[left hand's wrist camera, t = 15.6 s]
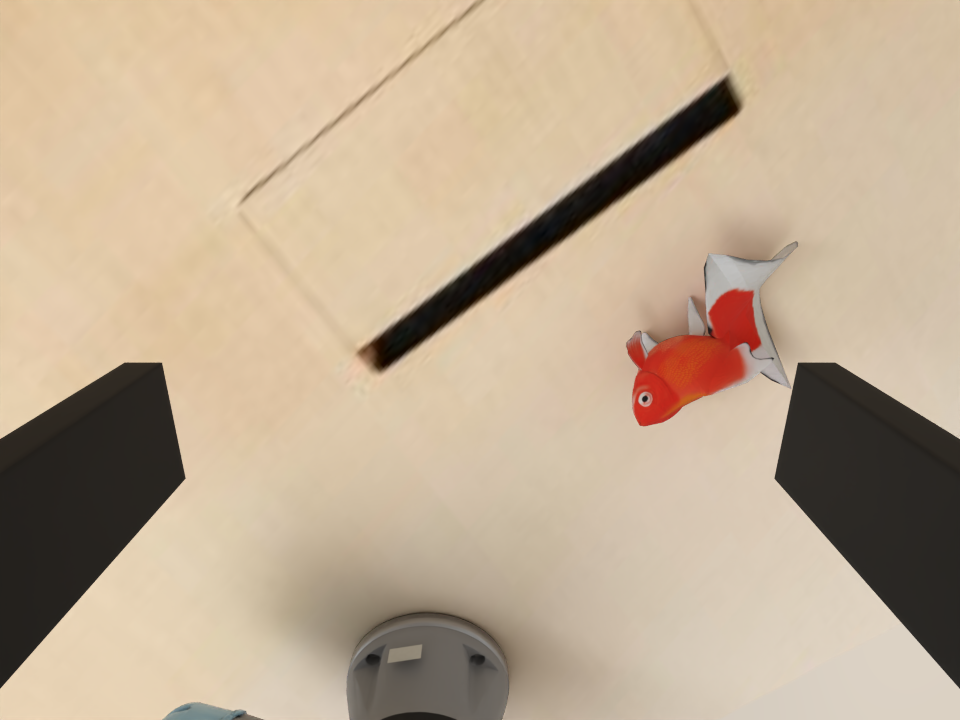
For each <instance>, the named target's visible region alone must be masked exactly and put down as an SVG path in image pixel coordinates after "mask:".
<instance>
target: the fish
mask: <svg viewBox="0 0 960 720" xmlns="http://www.w3.org/2000/svg"><path fill="white" fill-rule="evenodd" d="M797 247H798V242H797V241H795V242H794V243H792V244H790V245H788V246H786V247H785V248H784V249H782V250H781V251H780V252H779V253H778V254H777V255H776V256H775V257H774V258H773V259H771V260H768V261H762V260H746V259H741V258H737V257H733V256H728V255H719V254H708V257H707V260H706V263H705V266H704V276H705V290H706V314H707V324H708V333H709V334H710V335H711V336H704V335H705V325H704V323H703V321H702V319H701V317H700V315H699V313H698V311H697V309H696V307H695V305H694V302H693V300H692V298H691V297H689V298H688V324H689V335H681V336H676V337H673V338H670V339H667V340H665V341H663V342H661V343H657V342H656V341H654V340H653V339H652V338H651V337H650V336H649V335H648V334H647V333H643V334H642V335H641V331H637V332H635V333H634V335H633V337H632V338H631V339H630V340H629V341H628V342H627V345H626V347H627V349H628V355H629V356H630V358H631V359H632V361H633V362H634V363H635V364H636V366H637V367H638V368H639V370H638V373H637V376H636V378H635V383H634V388H633V394H632V408H633V412H634V415H635V417H636V419H637V421H638V423H639V425H640V426H648V425H652V424H657V423H662V422H664V421H666V420H668V419H670V418H671V417H673V416H674V415H675V414H676V413H677V412H678V411H679V410H680V409H681V408H682V407H683V406H685V405H687V404H689V403H691V402H693V401H695V400H697V399H699V398H701V397H702V396H707V395H712V394H715V393H718V392H721V391H724V390H727V389H730V388H733V387H736V386H739V385H741V384H744V383H747V382H748V381H750V380H751V379H752V378H754V377H755V376H756V375H758V374H759V373H762V374H763V375H765V376H766V377H767V378H769V379H770V380H772V381H774V382H777V383H779V384H781V385H784V386H786V387H788V388H790V389H791V387H790V384H789V381H788V379H787V376H786V374H785V371H784V369H783V366H782V364H781V361H780V358H779V356H778V353H777V351H776V348H775V346H774V343H773V340H772V338H771V335H770V333H769V330H768V327H767V324H766V321H765V317H764V314H763V311H762V308H761V302H760V294H759V290H760V287H761V286H762V284H763V283H764V282H765V281H766V280H767V279H768V277H769V276H770V275H771V274H772V273H773V272H774V271H775V270H776V269H777V268H778V267H779V266H780V264H781V263H782V262H783V261H784V260H785V259H786V258H787V257H788V256H789V255H790V254H791V253H792V252H793V251H794V250H795V249H796V248H797Z"/></svg>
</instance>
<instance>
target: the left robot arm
mask: <svg viewBox="0 0 960 720" xmlns="http://www.w3.org/2000/svg"><path fill="white" fill-rule="evenodd" d="M185 479H186V478H185V474H184V469H183V464H182V459H181V454H180V449H179V444H178V439H177V434H176V429H175V425H174V420H173V415H172V410H171V405H170V400H169V395H168V390H167V385H166V380H165V375H164V371H163V366H162V363H123V364H122V365H120V366H119V367H117V368H115V369H114V370H112V371H110V372H109V373H107V374H106V375H104V376H102V377H101V378H99V379H97V380H96V381H94V382H93V383H91V384H89V385H88V386H86V387H84V388H83V389H81V390H80V391H78V392H76V393H75V394H73V395H71V396H70V397H68V398H66V399H65V400H63V401H62V402H60V403H58V404H57V405H55V406H53V407H52V408H50V409H49V410H47V411H45V412H44V413H42V414H40V415H39V416H37V417H36V418H34V419H32V420H31V421H29V422H27V423H26V424H24V425H22V426H21V427H19V428H18V429H16V430H14V431H13V432H11V433H9V434H8V435H6V436H5V437H3V438H1V439H0V688H1V687H2V686H3V685H4V684H5V683H6V681H7V680H8V679H9V678H10V677H11V676H12V675H13V673H14V672H15V671H16V670H17V669H18V668H19V667H20V666H21V664H22V663H23V662H24V661H25V660H26V659H27V658H28V656H29V655H30V654H31V653H32V652H33V651H34V650H35V649H36V647H37V646H38V645H39V644H40V643H41V642H42V641H43V639H44V638H45V637H46V636H47V635H48V634H49V633H50V632H51V630H52V629H53V628H54V627H55V626H56V625H57V624H58V622H59V621H60V620H61V619H62V618H63V617H64V616H65V615H66V613H67V612H68V611H69V610H70V609H71V608H72V607H73V605H74V604H75V603H76V602H77V601H78V600H79V599H80V598H81V596H82V595H83V594H84V593H85V592H86V591H87V590H88V588H89V587H90V586H91V585H92V584H93V583H94V582H95V581H96V579H97V578H98V577H99V576H100V575H101V574H102V573H103V571H104V570H105V569H106V568H107V567H108V566H109V565H110V564H111V562H112V561H113V560H114V559H115V558H116V557H117V556H118V554H119V553H120V552H121V551H122V550H123V549H124V548H125V547H126V545H127V544H128V543H129V542H130V541H131V540H132V539H133V537H134V536H135V535H136V534H137V533H138V532H139V531H140V530H141V528H142V527H143V526H144V525H145V524H146V523H147V522H148V520H149V519H150V518H151V517H152V516H153V515H154V514H155V513H156V511H157V510H158V509H159V508H160V507H161V506H162V505H163V503H164V502H165V501H166V500H167V499H168V498H169V497H170V496H171V494H172V493H173V492H174V491H175V490H176V489H177V488H178V486H179V485H180V484H181V483H182V482H183V481H184V480H185ZM774 479H775V480H776V481H777V482H778V483H779V484H780V485H781V486H782V488H783V489H784V490H785V491H786V492H787V493H788V494H789V496H790V497H791V498H792V499H793V500H794V501H795V502H796V503H797V505H798V506H799V507H800V508H801V509H802V510H803V511H804V513H805V514H806V515H807V516H808V517H809V518H810V519H811V520H812V522H813V523H814V524H815V525H816V526H817V527H818V528H819V530H820V531H821V532H822V533H823V534H824V535H825V536H826V537H827V539H828V540H829V541H830V542H831V543H832V544H833V545H834V547H835V548H836V549H837V550H838V551H839V552H840V553H841V554H842V556H843V557H844V558H845V559H846V560H847V561H848V562H849V564H850V565H851V566H852V567H853V568H854V569H855V570H856V571H857V573H858V574H859V575H860V576H861V577H862V578H863V579H864V581H865V582H866V583H867V584H868V585H869V586H870V587H871V588H872V590H873V591H874V592H875V593H876V594H877V595H878V596H879V598H880V599H881V600H882V601H883V602H884V603H885V604H886V605H887V607H888V608H889V609H890V610H891V611H892V612H893V613H894V615H895V616H896V617H897V618H898V619H899V620H900V621H901V622H902V624H903V625H904V626H905V627H906V628H907V629H908V630H909V632H910V633H911V634H912V635H913V636H914V637H915V638H916V639H917V641H918V642H919V643H920V644H921V645H922V646H923V647H924V649H925V650H926V651H927V652H928V653H929V654H930V655H931V656H932V658H933V659H934V660H935V661H936V662H937V663H938V664H939V666H940V667H941V668H942V669H943V670H944V671H945V672H946V673H947V675H948V676H949V677H950V678H951V679H952V680H953V681H954V683H955V684H956V685H957V686H958V687H959V688H960V439H959V438H957V437H955V436H954V435H952V434H951V433H949V432H947V431H946V430H944V429H942V428H941V427H939V426H938V425H936V424H934V423H933V422H931V421H929V420H928V419H926V418H924V417H923V416H921V415H920V414H918V413H916V412H915V411H913V410H911V409H910V408H908V407H907V406H905V405H903V404H902V403H900V402H898V401H897V400H895V399H894V398H892V397H890V396H889V395H887V394H885V393H884V392H882V391H880V390H879V389H877V388H876V387H874V386H872V385H871V384H869V383H867V382H866V381H864V380H863V379H861V378H859V377H858V376H856V375H854V374H853V373H851V372H850V371H848V370H846V369H845V368H843V367H841V366H840V365H838V364H837V363H798V366H797V371H796V375H795V380H794V385H793V390H792V395H791V400H790V405H789V410H788V415H787V420H786V425H785V429H784V434H783V439H782V444H781V449H780V454H779V459H778V464H777V469H776V474H775V478H774ZM508 693H509V680H508V667H507V662H506V659H505V656H504V654H503V652H502V650H501V649H500V647H499V646H498V644H497V643H496V642H495V641H494V640H493V639H492V637H491V636H489V635H488V634H487V633H486V632H485V631H483V630H482V629H480V628H479V627H477V626H475V625H474V624H472V623H470V622H467V621H465V620H462V619H460V618H456V617H453V616H449V615H443V614H435V613H418V614H410V615H405V616H401V617H397V618H394V619H392V620H389V621H387V622H385V623H383V624H381V625H379V626H377V627H376V628H374V629H373V630H372V631H370V632H369V633H368V634H367V635H366V636H365V637H364V638H363V639H362V640H361V641H360V643H359V644H358V646H357V647H356V649H355V651H354V653H353V656H352V659H351V663H350V667H349V671H348V676H347V701H348V710H349V718H350V720H502V718H503V714H504V711H505V708H506V704H507V699H508ZM163 720H263V719H260V718H257V717H254V716H251V715H248V714H247V713H246V711H244V710H235V711H231V710H227V709H223V708H219V707H215V706H211V705H207V704H203V703H195V702H194V703H188V704H185V705H182V706H180V707H178V708H176V709H175V710H173V711H172V712H171V713H169V714H168V715H167V716H166V717H165V718H164V719H163Z"/></svg>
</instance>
